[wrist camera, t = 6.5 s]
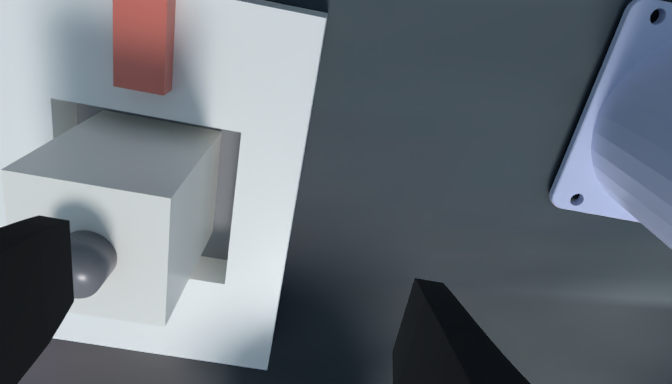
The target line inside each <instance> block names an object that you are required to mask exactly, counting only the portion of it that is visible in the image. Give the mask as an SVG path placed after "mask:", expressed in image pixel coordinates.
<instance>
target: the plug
mask: <svg viewBox="0 0 672 384" xmlns="http://www.w3.org/2000/svg"><path fill="white" fill-rule="evenodd" d="M221 134H222V131H217V130H211V129H206V128H200V127H195V126H189V125H183V124H178V123H172V122H167V121H161V120H156V119H150V118H144V117H139V116H133V115H128V114H122V113H117V112H111V111H105V110H102V111H101V112H99V113H97V114H96V115H94V116H92V117H90V118H89V119H87V120H85V121H84V122H82V123H80V124H78V125H77V126H75V127H73V128H71V129H70V130H68V131H66V132H65V133H63V134H61V135H59V136H58V137H56V138H54V139H53V140H51V141H49V142H47V143H46V144H44V145H42V146H41V147H39V148H37V149H35V150H34V151H32V152H30V153H28V154H27V155H25V156H23V157H22V158H20V159H18V160H16V161H15V162H13V163H11V164H10V165H8V166H6V167H4V168H3V169H1V177H2V186H3V194H4V203H5V211H6V220H7V225H9V224H12V223H15V222H18V221H21V220H24V219H28V218H31V217H35V216H39V215H40V216H46V217H52V218H58V219H64V220H69V221H70V238H71V255H72V272H73V289H74V302H73V304H72V306H71V308H70V309H69V311H68V312H69V313H76V314H82V315H89V316H96V317H102V318H109V319H115V320H122V321H128V322H135V323H141V324H148V325H155V326H161V327H165V326H166V324H167V322H168V320H169V318H170V316H171V314H172V312H173V310H174V308H175V306H176V304H177V302H178V300H179V298H180V296H181V294H182V292H183V290H184V288H185V286H186V284H187V282H188V280H189V278H190V276H191V274H192V272H193V270H194V268H195V266H196V264H197V262H198V260H199V258H200V256H201V254H202V252H203V250H204V248H205V246H206V244H207V242H208V240H209V238H210V236H211V234H212V232H213V224H214V213H215V201H216V190H217V179H218V167H219V156H220V145H221Z"/></svg>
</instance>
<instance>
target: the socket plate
mask: <svg viewBox="0 0 672 384" xmlns="http://www.w3.org/2000/svg"><path fill="white" fill-rule="evenodd" d="M327 17H328V13H325V12H320V11H315V10H310V9H305V8H300V7H295V6H290V5H285V4H280V3H275V2H270V1H265V0H0V228H1V227H3V226H6V225H7V220H6V211H5V203H4V194H3V186H2V177H1V169H3V168H4V167H6V166H8V165H10V164H11V163H13V162H15V161H16V160H18V159H20V158H22V157H23V156H25V155H27V154H28V153H30V152H32V151H34V150H35V149H37V148H39V147H41V146H42V145H44V144H46V143H47V142H49V141H51V140H53V139H54V138H56V137H58V136H59V135H61V134H63V133H65V132H66V131H68V130H70V129H71V128H73V127H75V126H77V125H78V124H80V123H82V122H84V121H85V120H87V119H89V118H90V117H92V116H94V115H96V114H97V113H99V112H101V111H102V110H105V111H111V112H117V113H122V114H128V115H133V116H139V117H144V118H150V119H156V120H161V121H167V122H172V123H178V124H183V125H189V126H195V127H200V128H206V129H211V130H217V131H222V134H221V145H220V156H219V167H218V179H217V190H216V201H215V213H214V224H213V232H212V234H211V236H210V238H209V240H208V242H207V244H206V246H205V248H204V250H203V252H202V254H201V256H200V258H199V260H198V262H197V264H196V266H195V268H194V270H193V272H192V274H191V276H190V278H189V280H188V282H187V284H186V286H185V288H184V290H183V292H182V294H181V296H180V298H179V300H178V302H177V304H176V306H175V308H174V310H173V312H172V314H171V316H170V318H169V320H168V322H167V324H166V326H165V327H161V326H155V325H148V324H141V323H135V322H128V321H122V320H115V319H109V318H102V317H96V316H89V315H82V314H76V313H69V312H68V313H67V314H66V316H65V318H64V320H63V321H62V323H61V325H60V326H59V328H58V330H57V331H56V333H55V334H54V336H53V338H55V339H62V340H69V341H75V342H82V343H89V344H95V345H102V346H108V347H115V348H122V349H128V350H135V351H142V352H148V353H155V354H162V355H168V356H175V357H182V358H188V359H195V360H201V361H208V362H215V363H221V364H228V365H235V366H241V367H248V368H255V369H261V370H267V367H268V362H269V357H270V352H271V347H272V341H273V336H274V330H275V324H276V318H277V312H278V306H279V300H280V295H281V289H282V283H283V277H284V271H285V265H286V259H287V253H288V247H289V241H290V236H291V230H292V224H293V218H294V212H295V206H296V200H297V194H298V188H299V183H300V177H301V171H302V165H303V159H304V153H305V147H306V141H307V135H308V129H309V124H310V118H311V112H312V106H313V100H314V94H315V88H316V82H317V76H318V70H319V65H320V59H321V53H322V47H323V41H324V35H325V29H326V23H327Z"/></svg>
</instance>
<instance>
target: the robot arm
mask: <svg viewBox="0 0 672 384" xmlns="http://www.w3.org/2000/svg"><path fill="white" fill-rule="evenodd" d="M656 9H658V11H659V17H658V19H657V20H656V21H655V22H653V23H651V22H650V15H651V14H652V12H653V11H655V10H656ZM575 194H579V197H578V199H577V200H575V201H570V200H571V198H572V196H573V195H575ZM549 198H550V201H551V202H552V203H553V204H554V205H555V206H556V207H558V208H562V209H568V210H573V211H579V212H584V213H590V214H596V215H601V216H607V217H612V218H618V219H623V220H629V221H635V222H640V223H641V224H643V225H644V226H645V227H646V228H647V229H648V230H650V231H651V232H652V233H653V234H654V235H656V236H657V237H658V238H659V239H660V240H661V241H663V242H664V243H665V244H666V245H667V246H668V247H670V248H671V249H672V3H671V2H666V1H661V0H633V1H632V2H630V3H629V4H628V5H627V7H626V9H625V10H624V13H623V15H622V18H621V20H620V23H619V25H618V27H617V30H616V32H615V35H614V37H613V40H612V42H611V44H610V47H609V49H608V52H607V54H606V57H605V59H604V61H603V64H602V66H601V69H600V71H599V74H598V76H597V78H596V81H595V83H594V86H593V88H592V91H591V93H590V95H589V98H588V100H587V103H586V105H585V107H584V110H583V112H582V115H581V117H580V120H579V122H578V124H577V127H576V129H575V132H574V134H573V137H572V139H571V141H570V144H569V146H568V149H567V151H566V154H565V156H564V158H563V161H562V163H561V166H560V168H559V171H558V173H557V175H556V178H555V180H554V183H553V185H552V188H551V190H550V193H549ZM73 302H74V289H73V272H72V255H71V238H70V221H69V220H64V219H58V218H52V217H46V216H40V215H39V216H35V217H31V218H28V219H24V220H21V221H18V222H15V223H12V224H9V225H6V226H3V227H1V228H0V384H17V383H18V382H19V381H20V380H21V378H22V377H23V376H24V375H25V373H26V372H27V371H28V370H29V368H30V367H31V366H32V364H33V363H34V362H35V361H36V359H37V358H38V357H39V356H40V354H41V353H42V352H43V350H44V349H45V348H46V347H47V345H48V344H49V342H50V341H51V339H52V338H53V336H54V334H55V333H56V331H57V330H58V328H59V326H60V325H61V323H62V321H63V320H64V318H65V316H66V314H67V313H68V311H69V309H70V308H71V306H72V304H73ZM393 384H530V383H529V382H528V381H527V380H526V379H525V377H524V376H523V375H522V374H521V373H520V372H519V371H518V370H517V369H516V368H515V367H514V366H513V365H512V364H511V362H510V361H509V360H508V359H507V358H506V357H505V356H504V355H503V354H502V352H501V351H500V350H499V349H498V348H497V347H496V346H495V344H494V343H493V342H492V341H491V340H490V339H489V337H488V336H487V335H486V334H485V333H484V331H483V330H482V329H481V328H480V327H479V326H478V324H477V323H476V322H475V321H474V319H473V318H472V317H471V316H470V315H469V313H468V312H467V311H466V310H465V308H464V307H463V306H462V305H461V304H460V302H459V301H458V300H457V299H456V297H455V296H454V295H453V294H452V293H451V291H450V290H449V289H448V288H447V287H446V286H445V285H444V284H443V283H440V282H434V281H428V280H422V279H416V278H415V280H414V283H413V286H412V290H411V293H410V296H409V299H408V303H407V306H406V309H405V313H404V316H403V319H402V322H401V326H400V329H399V332H398V336H397V339H396V342H395V346H394V349H393Z"/></svg>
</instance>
